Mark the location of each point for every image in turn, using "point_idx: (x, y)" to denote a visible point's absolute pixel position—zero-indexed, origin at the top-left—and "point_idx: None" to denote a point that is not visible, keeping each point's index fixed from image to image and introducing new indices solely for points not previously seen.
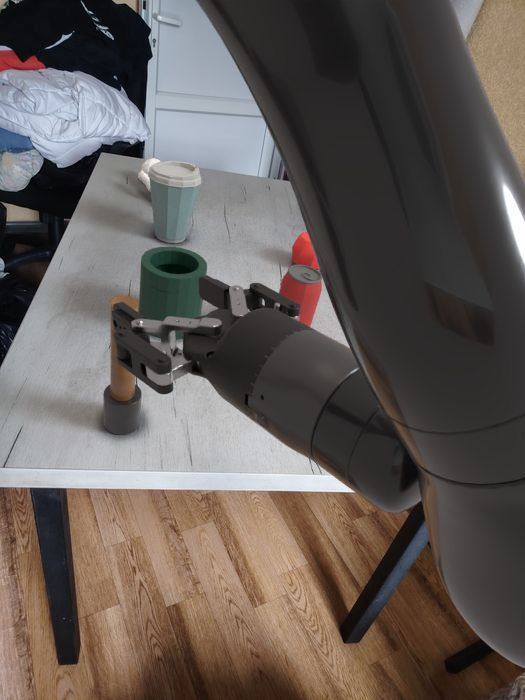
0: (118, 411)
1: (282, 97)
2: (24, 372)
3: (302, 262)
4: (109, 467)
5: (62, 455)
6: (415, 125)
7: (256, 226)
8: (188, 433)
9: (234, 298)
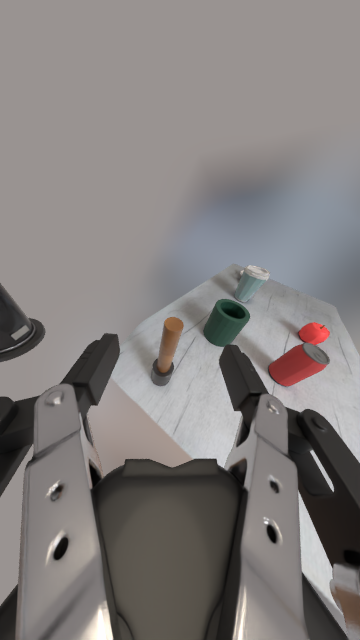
0: (155, 375)
1: None
2: (145, 327)
3: (305, 337)
4: (135, 400)
5: (123, 377)
6: None
7: (284, 308)
8: (186, 407)
9: (264, 475)
